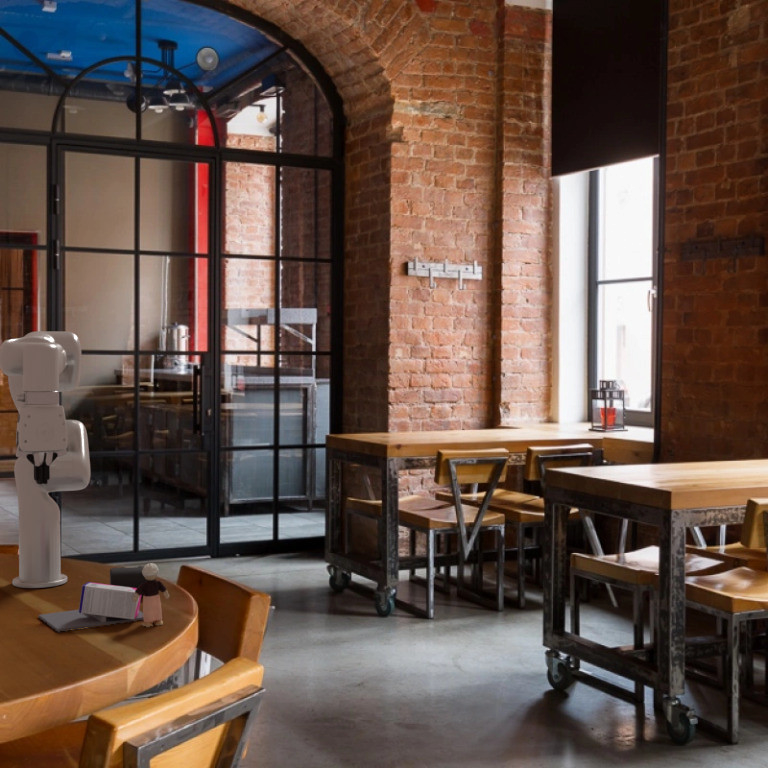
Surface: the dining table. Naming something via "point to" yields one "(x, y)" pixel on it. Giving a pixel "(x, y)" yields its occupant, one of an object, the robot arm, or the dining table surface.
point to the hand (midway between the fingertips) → (41, 483)
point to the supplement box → (109, 601)
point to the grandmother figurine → (151, 596)
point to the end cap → (127, 577)
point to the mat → (80, 620)
